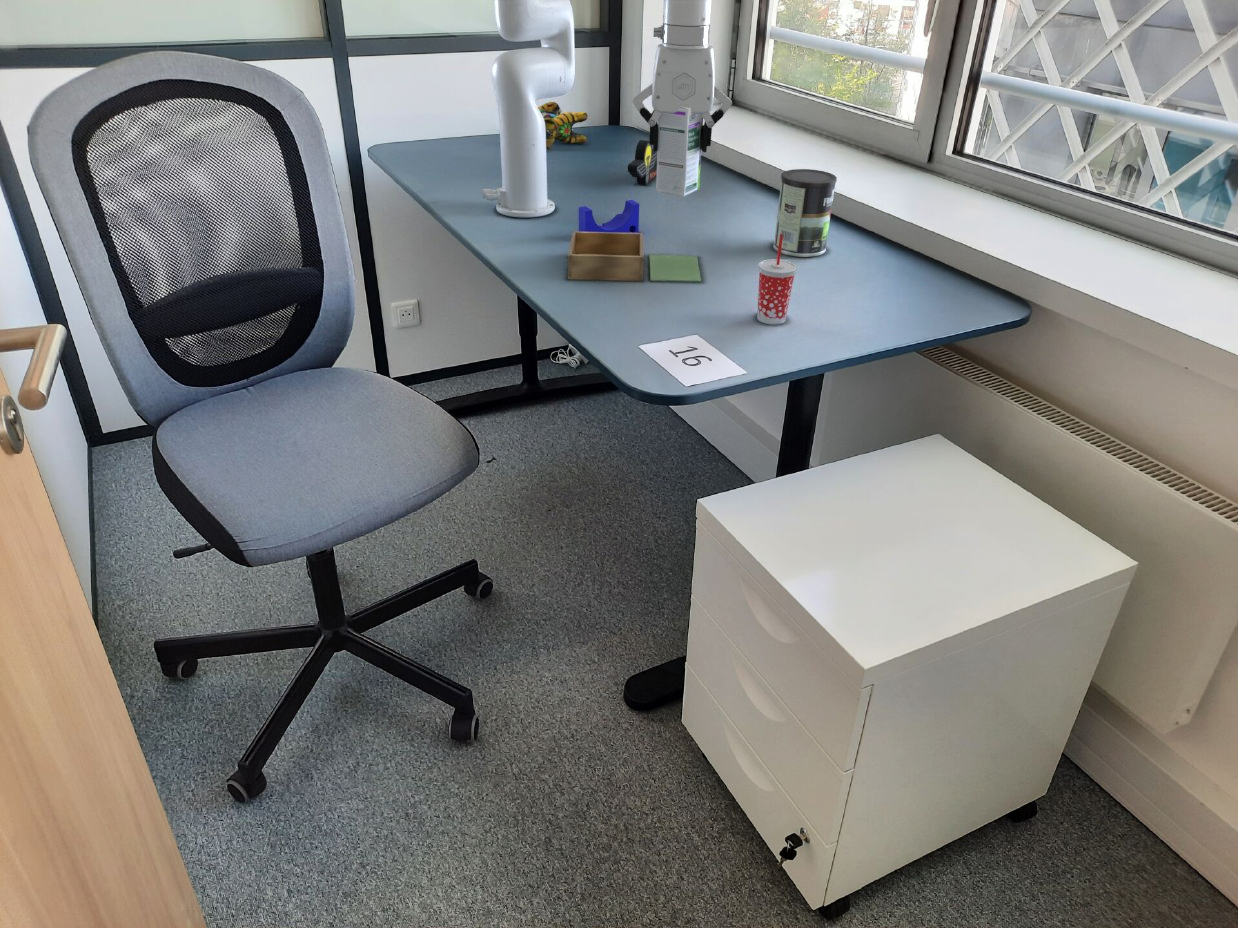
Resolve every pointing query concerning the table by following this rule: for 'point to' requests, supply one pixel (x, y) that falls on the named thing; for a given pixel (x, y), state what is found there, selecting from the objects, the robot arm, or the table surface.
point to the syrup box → (679, 152)
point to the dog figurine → (561, 124)
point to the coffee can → (804, 212)
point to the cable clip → (618, 224)
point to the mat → (674, 268)
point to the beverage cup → (775, 288)
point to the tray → (606, 256)
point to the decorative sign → (644, 163)
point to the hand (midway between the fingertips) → (679, 149)
